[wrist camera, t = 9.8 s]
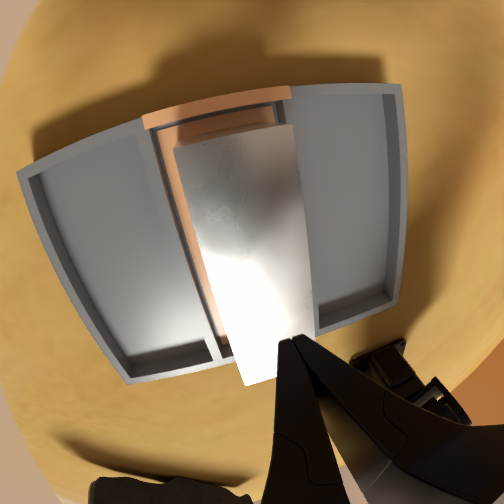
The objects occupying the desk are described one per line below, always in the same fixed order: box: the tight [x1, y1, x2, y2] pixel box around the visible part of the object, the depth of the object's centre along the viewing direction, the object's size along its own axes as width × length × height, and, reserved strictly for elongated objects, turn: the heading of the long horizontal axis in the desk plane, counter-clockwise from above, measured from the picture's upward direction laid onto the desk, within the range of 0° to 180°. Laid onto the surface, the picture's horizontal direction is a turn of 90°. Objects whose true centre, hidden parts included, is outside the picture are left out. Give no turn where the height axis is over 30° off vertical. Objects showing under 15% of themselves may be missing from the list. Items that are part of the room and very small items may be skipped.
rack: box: [16, 83, 408, 385], centre depth 15 cm, size 15×20×3 cm
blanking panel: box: [173, 122, 315, 386], centre depth 13 cm, size 12×4×4 cm, turn 11°
